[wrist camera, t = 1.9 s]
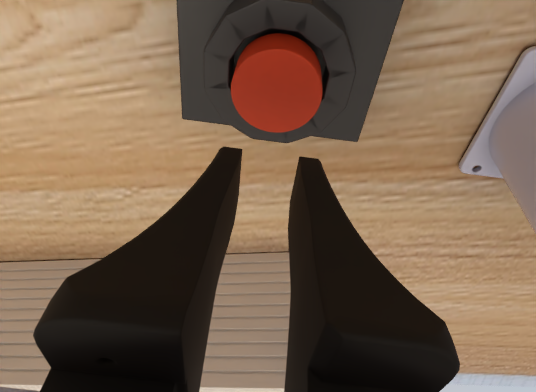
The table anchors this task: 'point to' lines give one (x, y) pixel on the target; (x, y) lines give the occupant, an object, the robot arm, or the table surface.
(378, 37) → the button block
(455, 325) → the table surface
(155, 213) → the table surface
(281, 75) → the button
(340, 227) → the robot arm
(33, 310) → the long wooden block
